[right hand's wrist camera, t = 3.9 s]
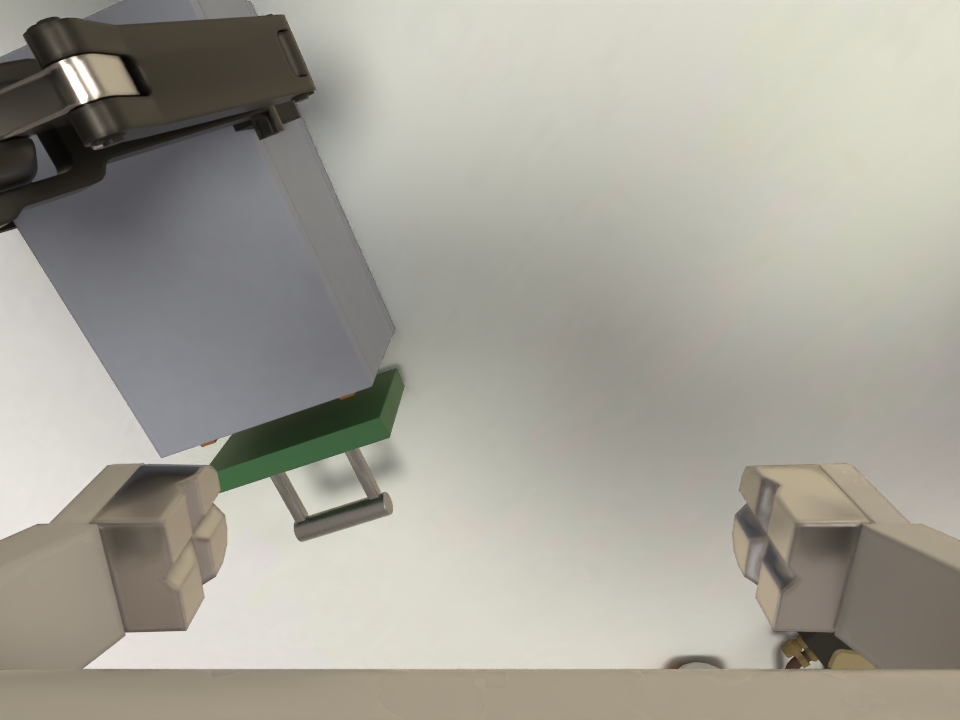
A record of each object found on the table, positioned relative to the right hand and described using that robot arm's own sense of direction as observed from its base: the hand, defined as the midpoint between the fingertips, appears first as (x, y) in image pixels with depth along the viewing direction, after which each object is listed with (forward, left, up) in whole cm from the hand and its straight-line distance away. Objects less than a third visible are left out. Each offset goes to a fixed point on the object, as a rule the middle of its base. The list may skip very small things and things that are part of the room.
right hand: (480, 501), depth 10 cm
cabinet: (+9, +10, -27) cm, 30 cm away
